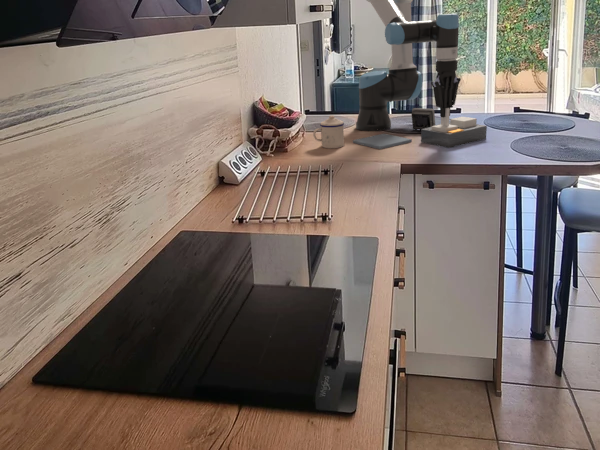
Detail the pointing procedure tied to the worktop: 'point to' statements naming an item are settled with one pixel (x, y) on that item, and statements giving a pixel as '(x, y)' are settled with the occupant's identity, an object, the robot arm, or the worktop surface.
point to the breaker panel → (454, 136)
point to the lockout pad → (382, 141)
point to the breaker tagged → (444, 128)
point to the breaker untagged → (463, 122)
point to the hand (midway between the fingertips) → (444, 125)
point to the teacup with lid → (331, 133)
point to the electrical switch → (423, 118)
